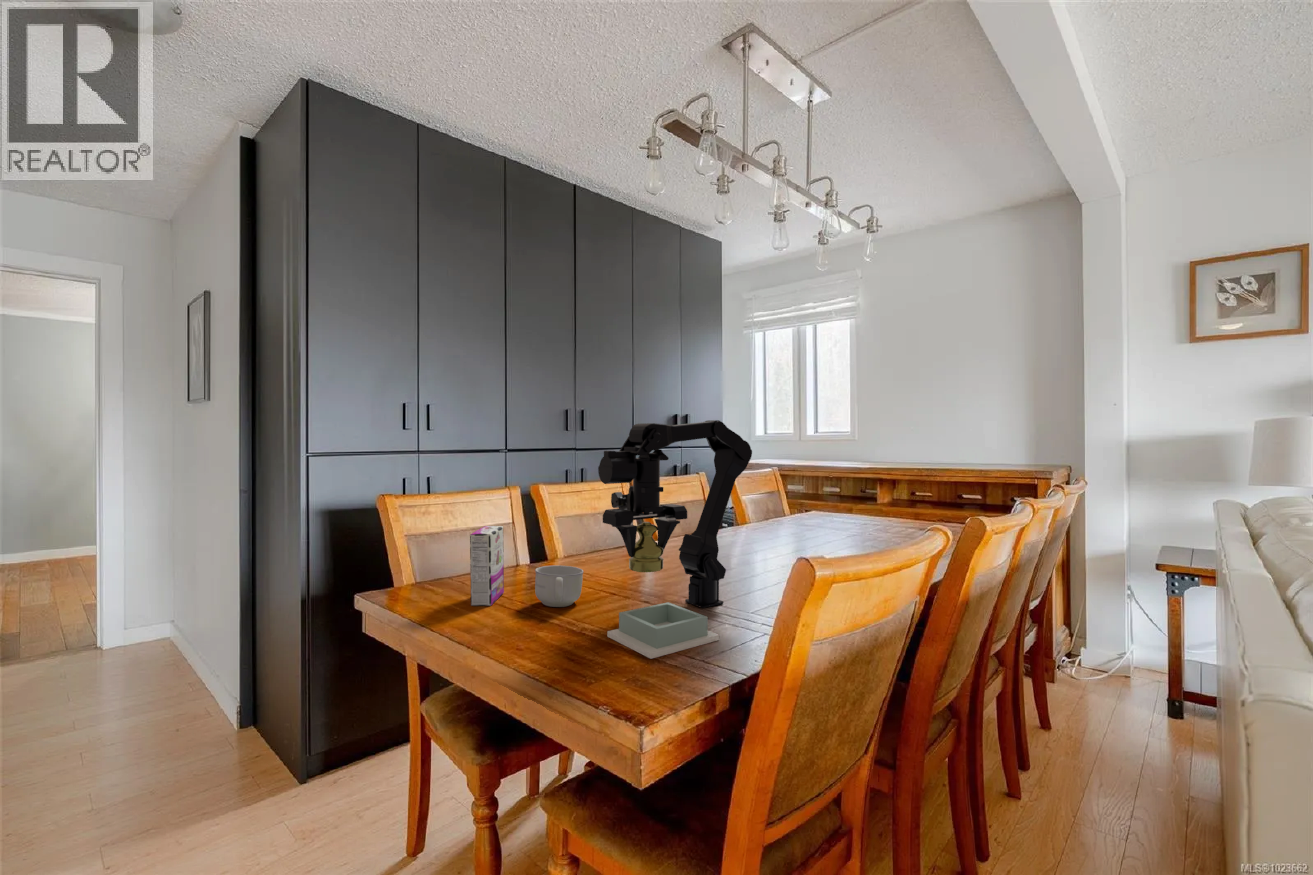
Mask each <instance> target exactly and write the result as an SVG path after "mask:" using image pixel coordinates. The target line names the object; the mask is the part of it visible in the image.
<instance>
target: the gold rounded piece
mask: <svg viewBox="0 0 1313 875" xmlns="http://www.w3.org/2000/svg"><path fill="white" fill-rule="evenodd" d="M636 526H637V533H638V535H639V538H638V540H637V541H636V543H635V552H634V556H633V557H629V558H628V564H629V565H628V567H629V570H630V571H633V572H636V573H655V572H656V573H657V572H661V571H662V570H663V569H664V557H662V556H663V554H664V552H665V549H664V550H663V548H662V547H661V546H660V545H658V541H656V540H655V539H654V534H655V533H656V532H658V527H657V525H655V524H653V523H651V522H650V521H642V523H640V524H637V525H636Z"/></svg>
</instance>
